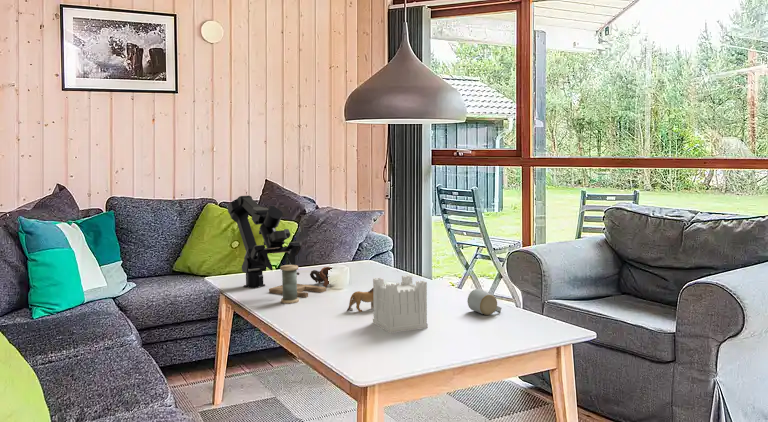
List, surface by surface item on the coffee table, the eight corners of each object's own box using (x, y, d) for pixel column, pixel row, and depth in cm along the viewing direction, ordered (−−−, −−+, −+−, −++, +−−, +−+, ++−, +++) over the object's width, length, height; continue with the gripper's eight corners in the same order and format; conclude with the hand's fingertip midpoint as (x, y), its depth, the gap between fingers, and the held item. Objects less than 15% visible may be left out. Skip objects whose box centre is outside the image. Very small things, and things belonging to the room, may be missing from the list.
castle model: (372, 322, 211) (372, 278, 209) (414, 317, 217) (414, 274, 215) (389, 332, 199) (389, 285, 198) (433, 327, 205) (433, 281, 204)
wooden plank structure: (269, 292, 257) (268, 276, 257) (290, 286, 268) (290, 270, 268) (305, 297, 248) (305, 280, 247) (326, 291, 259) (326, 274, 258)
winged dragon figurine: (337, 282, 278) (341, 267, 273) (334, 297, 270) (338, 281, 265) (309, 276, 277) (313, 260, 273) (305, 290, 269) (309, 274, 265)
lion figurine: (381, 306, 233) (381, 281, 233) (388, 309, 229) (388, 283, 228) (343, 310, 227) (343, 285, 226) (349, 314, 222) (349, 287, 221)
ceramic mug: (480, 317, 217) (481, 294, 216) (466, 311, 224) (467, 289, 223) (506, 313, 221) (507, 291, 221) (492, 308, 229) (492, 286, 228)
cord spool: (277, 302, 240) (276, 266, 239) (288, 298, 246) (288, 264, 245) (291, 304, 237) (290, 268, 236) (302, 300, 243) (301, 265, 241)
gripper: (252, 224, 242) (265, 257, 234) (298, 220, 253) (312, 252, 245) (245, 243, 250) (257, 276, 241) (290, 239, 260) (303, 270, 252)
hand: (283, 268), depth 245 cm, fingers open, 9 cm apart
